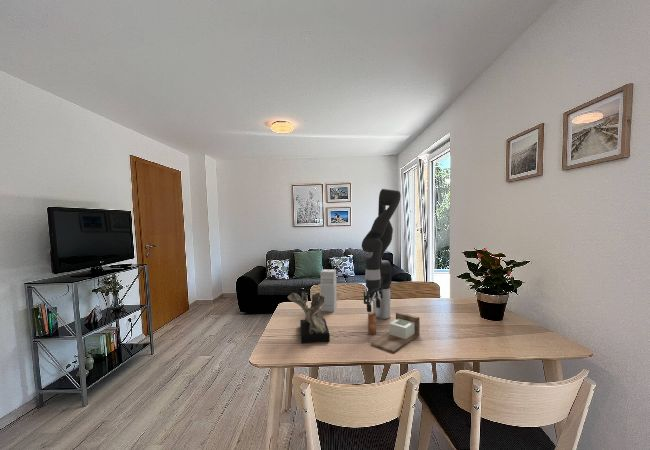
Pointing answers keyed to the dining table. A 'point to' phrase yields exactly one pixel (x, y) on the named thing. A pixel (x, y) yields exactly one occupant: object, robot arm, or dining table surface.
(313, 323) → the coral
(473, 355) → the dining table surface
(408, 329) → the hole block
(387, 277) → the robot arm
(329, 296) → the box
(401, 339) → the walnut angle bracket
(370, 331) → the dowel
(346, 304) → the dining table surface
